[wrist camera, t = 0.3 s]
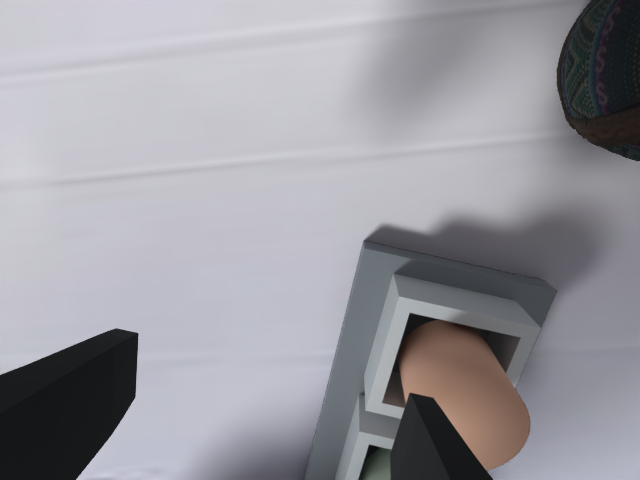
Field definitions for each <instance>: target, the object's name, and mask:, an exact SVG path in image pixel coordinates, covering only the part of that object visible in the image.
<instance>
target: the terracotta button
mask: <svg viewBox="0 0 640 480" xmlns="http://www.w3.org/2000/svg"><path fill="white" fill-rule="evenodd" d="M398 364H399V370H400V375H401V380H402V386H403V391H404V397H405V402H407V399H408V396H409V393H414V394H419V395H423V396H428V397H433V398H434V399H435V401H436V402H437V403H438V405H439V406H440V408H441V409H442V410H443V412H444V413H445V415H446V416H447V417H448V419H449V420H450V422H451V423H452V424H453V426H454V427H455V429H456V430H457V432H458V433H459V434H460V436H461V437H462V439H463V440H464V441H465V443H466V444H467V445H468V447H469V448H470V450H471V451H472V452H473V454H474V455H475V456H476V458H477V459H478V460H479V462H480V463H481V464H482V466H483V467H484V468H485V470H490V469H493V468H496V467H498V466H501V465H503V464H504V463H506V462H508V461H509V460H511V459H512V458H513V457H514V456H515V455H516V454H517V453H518V452H519V451H520V450H521V449H522V448H523V446H524V444H525V443H526V441H527V438H528V436H529V432H530V416H529V413H528V410H527V408H526V406H525V404H524V402H523V401H522V399H521V397H520V396H519V394H518V393H517V391H516V389H515V388H514V386H513V384H512V383H511V381H510V380H509V378H508V376H507V375H506V373H505V371H504V370H503V368H502V367H501V365H500V363H499V362H498V360H497V358H496V357H495V355H494V354H493V352H492V350H491V349H490V347H489V345H488V344H487V342H486V341H485V339H484V338H483V336H482V335H481V334H480V333H479V332H478V331H477V330H476V329H475V328H473V327H471V326H467V325H462V324H458V323H453V322H449V321H445V320H435V321H431V322H427V323H425V324H423V325H421V326H419V327H417V328H416V329H414V330H413V331H412V332H411V333H410V334H409V335H408V336H407V337H406V338H405V340H404V341H403V343H402V345H401V347H400V350H399V354H398Z"/></svg>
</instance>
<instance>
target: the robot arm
mask: <svg viewBox="0 0 640 480" xmlns="http://www.w3.org/2000/svg"><path fill="white" fill-rule="evenodd" d="M137 352H138V333H135V332H130V331H126V330H121V329H113V330H110V331H107V332H105V333H102V334H100V335H97V336H95V337H92V338H90V339H87V340H85V341H83V342H80V343H78V344H76V345H73V346H71V347H68V348H66V349H64V350H61V351H59V352H57V353H54V354H52V355H49V356H47V357H44V358H42V359H40V360H37V361H35V362H32V363H30V364H28V365H25V366H23V367H20V368H17V369H15V370H12V371H10V372H7V373H4V374H2V375H0V480H76V479H77V478H78V476H79V475H80V474H81V473H82V471H83V470H84V469H85V468H86V466H87V465H88V464H89V463H90V461H91V460H92V459H93V458H94V456H95V455H96V454H97V453H98V451H99V450H100V449H101V448H102V446H103V445H104V444H105V443H106V441H107V440H108V439H109V437H110V436H111V435H112V433H113V432H114V430H115V429H116V427H117V426H118V424H119V423H120V421H121V420H122V418H123V417H124V415H125V413H126V412H127V410H128V408H129V407H130V405H131V403H132V402H133V400H134V398H135V394H136V373H137ZM390 473H391V480H493V479H492V477H491V476H490V475H489V474H488V472H487V471H486V470H485V468H484V467H483V466H482V464H481V463H480V462H479V460H478V459H477V458H476V456H475V455H474V454H473V452H472V451H471V450H470V448H469V447H468V445H467V444H466V443H465V441H464V440H463V439H462V437H461V436H460V434H459V433H458V432H457V430H456V429H455V427H454V426H453V424H452V423H451V422H450V420H449V419H448V417H447V416H446V415H445V413H444V412H443V410H442V409H441V408H440V406H439V405H438V403H437V402H436V401H435V399H434V398H433V397H428V396H423V395H419V394H414V393H409V396H408V399H407V402H406V405H405V409H404V412H403V415H402V418H401V421H400V424H399V428H398V431H397V434H396V437H395V440H394V444H393V447H392V450H391V453H390Z"/></svg>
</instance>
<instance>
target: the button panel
mask: <svg viewBox="0 0 640 480" xmlns="http://www.w3.org/2000/svg"><path fill="white" fill-rule="evenodd" d="M556 293H557V290H555V289H554V288H553V287H552V286H550V285H549V284H548V283H547V282H545V281H544V280H539V279H535V278H530V277H525V276H521V275H516V274H512V273H507V272H503V271H498V270H494V269H489V268H485V267H480V266H476V265H471V264H467V263H462V262H457V261H453V260H448V259H444V258H439V257H435V256H430V255H426V254H421V253H417V252H412V251H408V250H403V249H399V248H394V247H390V246H385V245H380V244H376V243H371V242H367V241H363V245H362V249H361V253H360V257H359V261H358V265H357V269H356V273H355V277H354V281H353V285H352V289H351V293H350V297H349V301H348V305H347V309H346V313H345V317H344V321H343V325H342V329H341V333H340V337H339V341H338V345H337V349H336V353H335V357H334V361H333V365H332V369H331V373H330V377H329V381H328V385H327V389H326V393H325V397H324V401H323V405H322V409H321V413H320V417H319V421H318V425H317V429H316V433H315V437H314V441H313V445H312V449H311V453H310V457H309V461H308V465H307V469H306V473H305V477H304V480H362V470H363V466H364V464H365V462H366V460H367V458H368V457H369V456H370V455H371V454H372V453H373V452H375V451H376V450H378V449H380V448H386V449H391V450H392V447H393V444H394V440H395V437H396V434H397V431H398V428H399V424H400V421H401V418H402V415H403V412H404V409H405V405H406V402H405V397H404V391H403V386H402V380H401V375H400V370H399V364H398V354H399V350H400V347H401V345H402V343H403V341H404V340H405V338H406V337H407V336H408V335H409V334H410V333H411V332H412V331H413V330H414V329H416V328H417V327H419V326H421V325H423V324H425V323H427V322H431V321H435V320H445V321H449V322H453V323H458V324H462V325H467V326H471V327H473V328H475V329H476V330H477V331H478V332H479V333H480V334H481V335H482V336H483V338H484V339H485V341H486V342H487V344H488V345H489V347H490V349H491V350H492V352H493V354H494V355H495V357H496V358H497V360H498V362H499V363H500V365H501V367H502V368H503V370H504V371H505V373H506V375H507V376H508V378H509V380H510V381H511V383H512V384H513V386H514V388H515V387H516V385H517V383H518V380H519V378H520V376H521V373H522V371H523V369H524V367H525V364H526V362H527V360H528V357H529V355H530V353H531V350H532V348H533V346H534V344H535V341H536V339H537V337H538V334H539V332H540V330H541V327H542V325H543V322H544V320H545V318H546V316H547V313H548V311H549V309H550V306H551V304H552V302H553V300H554V297H555V295H556Z"/></svg>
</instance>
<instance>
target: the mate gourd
mask: <svg viewBox="0 0 640 480" xmlns="http://www.w3.org/2000/svg"><path fill="white" fill-rule="evenodd" d="M557 87H558V92H559V96H560V100H561V102H562V103H561V104H562V107H563V110H564V113H565V118H566V120H567V122H568V123H569V125H570V126H571V127H572V128H573V129H576V131H577V132H578V134H580V135H582V136H583V138H586V139H587V140H588V141H589V142H591V143H592V144H594V145H597V146H601V147H602V148H604V149H607V150H608V151H610V152H612V153H616V154H619V155H622V156H623V157H625V158H626V157H627V158H629V159H632V160H636V161H640V0H591V2H590V3H589V4H588V5H587V7H586V8H585V9H584V10H583V12H582V13H581V15H580V16H579V17H578V18H577V20H576V22H575V23H574V25H573V26H572V28H571V30H570V31H569V34H568V36H567V37H566V40H565V42H564V45H563V47H562V51H561V54H560V58H559V62H558V68H557Z"/></svg>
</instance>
